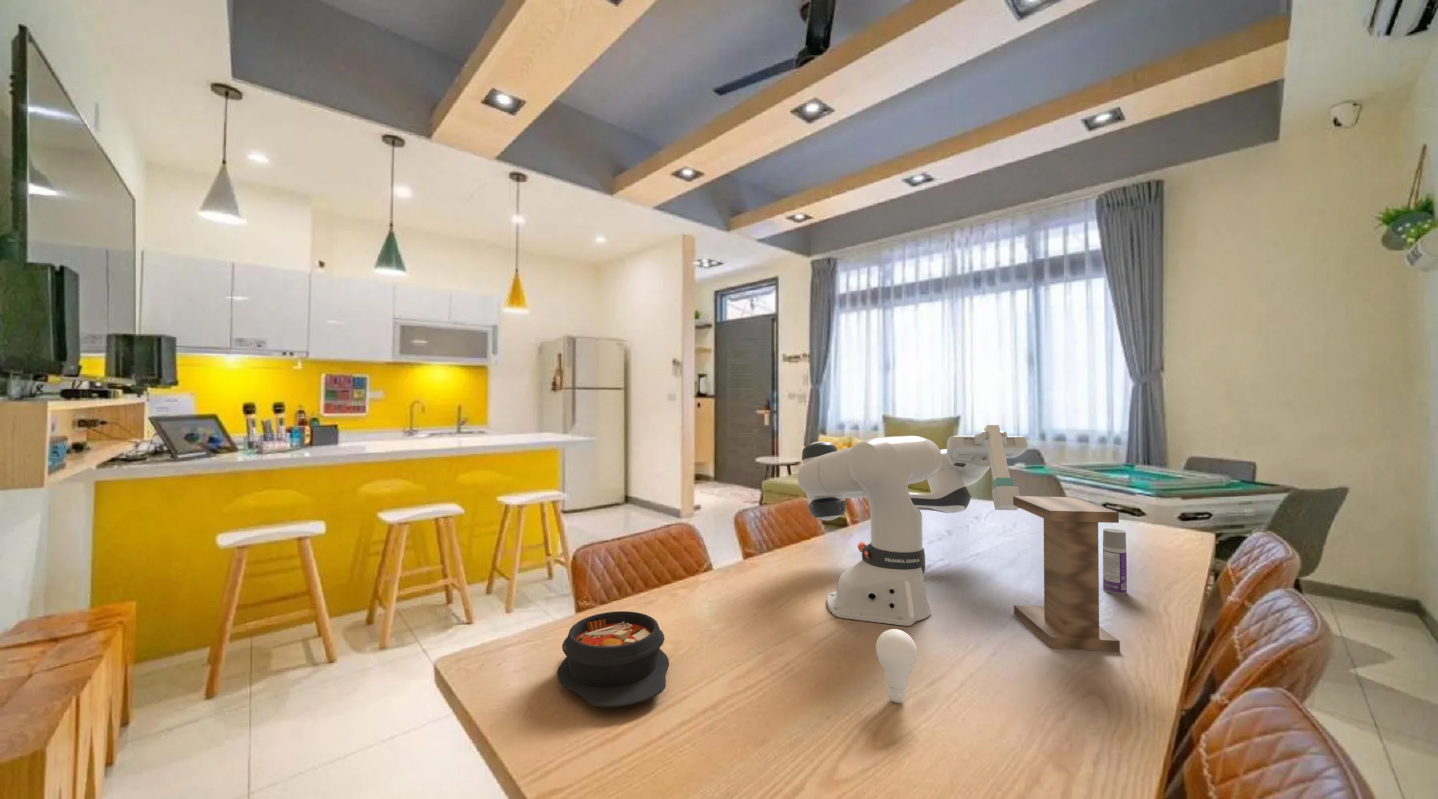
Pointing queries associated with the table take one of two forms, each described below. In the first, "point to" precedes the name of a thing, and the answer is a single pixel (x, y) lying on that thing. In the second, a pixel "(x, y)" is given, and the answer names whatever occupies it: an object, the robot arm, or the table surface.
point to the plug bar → (1000, 471)
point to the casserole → (614, 659)
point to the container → (1114, 561)
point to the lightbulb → (896, 660)
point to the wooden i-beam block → (1069, 574)
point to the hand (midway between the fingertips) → (995, 433)
